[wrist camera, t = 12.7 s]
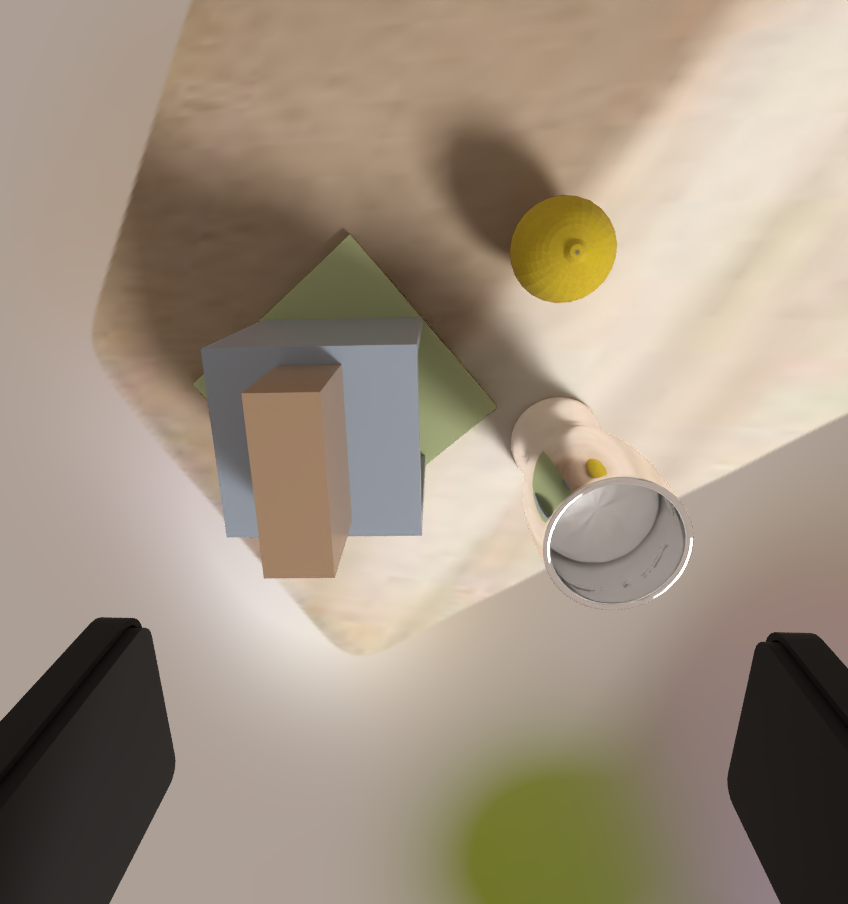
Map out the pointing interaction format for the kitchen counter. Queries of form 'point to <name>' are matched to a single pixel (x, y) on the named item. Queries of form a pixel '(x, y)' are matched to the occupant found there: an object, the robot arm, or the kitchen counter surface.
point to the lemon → (563, 249)
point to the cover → (317, 436)
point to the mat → (374, 296)
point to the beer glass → (597, 508)
